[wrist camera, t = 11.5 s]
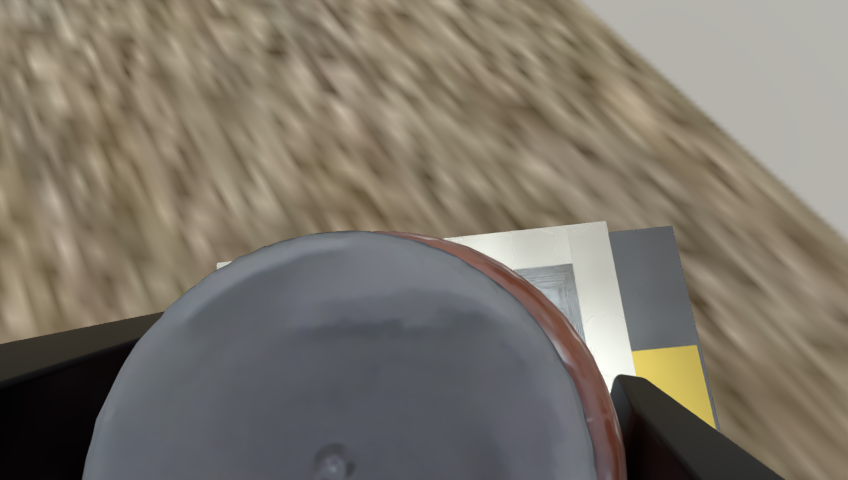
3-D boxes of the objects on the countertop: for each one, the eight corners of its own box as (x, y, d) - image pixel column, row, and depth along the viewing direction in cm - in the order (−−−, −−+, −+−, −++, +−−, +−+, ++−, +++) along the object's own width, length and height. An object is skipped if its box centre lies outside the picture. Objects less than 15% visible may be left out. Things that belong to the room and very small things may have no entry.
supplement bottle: (270, 383, 16) (-100, 244, 5) (481, 303, 16) (534, 24, 6) (340, 631, 14) (-22, 1206, 3) (577, 533, 14) (926, 760, 4)
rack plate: (255, 678, 17) (179, 758, 12) (257, 288, 20) (199, 247, 16) (740, 643, 16) (835, 714, 12) (653, 247, 20) (702, 191, 15)
